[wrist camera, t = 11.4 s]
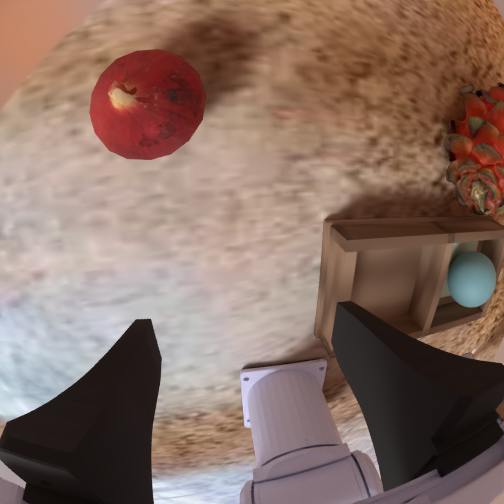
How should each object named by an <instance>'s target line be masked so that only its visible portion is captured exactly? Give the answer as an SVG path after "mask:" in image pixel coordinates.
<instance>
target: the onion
mask: <svg viewBox="0 0 504 504" xmlns="http://www.w3.org/2000/svg"><path fill="white" fill-rule="evenodd" d="M205 100H206V94H205V91H204V88H203V85H202V82H201V79H200V76H199V74H198V73H197V71H196V70H195V69H193V68H192V67H191V66H190V65H189V64H188V63H187V62H186V61H185V60H184V59H183V58H182V57H180V56H178V55H175V54H172V53H169V52H167V51H164V50H159V49H155V50H142V51H135V52H133V53H130V54H128V55H125V56H123V57H120V58H118V59H116V60H115V61H114V62H113V63H112V64H111V65H110V66H109V67H108V68H107V69H106V70H105V71H104V72H103V73H102V74H101V76H100V78H99V80H98V82H97V84H96V86H95V88H94V90H93V92H92V96H91V104H90V117H91V121H92V124H93V128H94V132H95V134H96V135H97V136H98V138H99V139H100V140H101V141H102V142H103V144H104V145H105V146H106V147H107V149H108V150H109V151H111V152H113V153H116V154H118V155H120V156H122V157H124V158H127V159H142V160H152V159H155V158H159V157H163V156H166V155H170V154H172V153H173V152H174V151H176V150H177V149H178V148H180V147H181V146H182V145H184V144H185V143H186V142H188V141H189V140H190V138H191V137H192V135H193V134H194V132H195V131H196V129H197V128H198V126H199V125H200V123H201V122H202V120H203V113H204V107H205Z"/></svg>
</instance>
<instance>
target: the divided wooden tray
mask: <svg viewBox="0 0 504 504" xmlns="http://www.w3.org/2000/svg"><path fill="white" fill-rule="evenodd" d="M493 219H494V218H493V217H491V216H474V217H473V216H442V217H399V218H368V219H343V220H324V225H323V242H322V256H321V269H320V281H319V292H318V302H317V312H316V321H315V330H314V335H315V337H316V338H321V340H322V342H323V344H324V346H325V348H326V350H327V352H328V354H329V356H330V358H333V357H336V356H335V353H334V350H333V347H332V344H331V338H332V332H333V325H334V319H335V312H336V305H337V302H344V301H352V302H354V303H356V304H358V305H359V306H361V307H363V308H364V309H366V310H367V311H369V312H370V313H372V314H373V315H375V316H377V317H378V318H380V319H381V320H383V321H385V322H386V323H388V324H389V325H391V326H393V327H394V328H396V329H398V330H400V331H401V332H403V333H405V334H407V335H409V336H411V337H413V338H415V339H416V338H420V337H423V336H427V335H430V334H434V333H437V332H440V331H444V330H447V329H450V328H453V327H456V326H459V325H462V324H465V323H468V322H471V321H474V320H477V319H479V318H482V317H485V314H486V312H487V309H488V306H489V304H490V301H491V298H492V295H493V293H492V295H491V297H490V298H489V299H488V300H487V301H486V302H485V303H484V304H482V305H480V306H477V307H465V306H462V305H460V304H459V303H457V302H456V301H455V300H454V299H453V297H452V296H451V294H450V291H449V288H448V282H447V279H448V272H449V269H450V267H451V265H452V263H453V262H454V260H455V259H456V258H457V257H458V256H460V255H461V254H463V253H465V252H469V251H476V252H480V253H482V254H484V255H486V256H487V257H488V258H489V259H490V260H491V262H492V264H493V266H494V268H495V272H496V283H497V280H498V277H499V274H500V270H501V267H502V264H503V260H504V226H503V225H501V224H499V223H497V222H495V221H493ZM495 286H496V285H495ZM493 292H494V291H493Z"/></svg>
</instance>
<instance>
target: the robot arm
mask: <svg viewBox="0 0 504 504" xmlns="http://www.w3.org/2000/svg"><path fill="white" fill-rule="evenodd" d="M331 344H332V347H333V350H334V353H335V356H336V359H337V361H338V364H339V366H340V368H341V370H342V372H343V374H344V376H345V378H346V380H347V381H348V383H349V385H350V387H351V389H352V391H353V393H354V395H355V397H356V399H357V401H358V403H359V405H360V407H361V410H362V412H363V415H364V418H365V421H366V423H367V426H368V429H369V432H370V436H371V439H372V442H373V446H374V449H375V453H376V457H377V461H378V465H379V470H380V475H381V480H382V483H381V480H380V477H379V475H378V472H377V470H376V468H375V466H374V464H373V462H372V460H371V459H370V457H369V456H368V455H367V454H365V453H362V452H361V451H359V450H356V451H354V452H351V453H350V450H349V448H348V445H347V443H344V444H343V443H342V440H341V438H340V435H339V433H338V430H337V427H336V425H335V422H334V420H333V417H332V415H331V412H330V410H329V407H328V404H327V402H326V399H325V397H324V394H323V392H322V388H323V383H324V378H325V373H326V368H327V361H326V359H318V360H312V361H305V362H299V363H292V364H285V365H277V366H269V367H261V368H251V369H244V370H242V371H241V372H240V379H241V391H242V402H243V414H244V425H245V427H247V428H250V427H251V431H252V437H253V443H254V449H255V455H256V461H257V467H258V468H255V469H253V470H252V471H253V478H254V480H250V481H247V482H246V483H245V485H244V487H243V488H242V490H241V493H240V504H490V503H492V501H494V500H495V499H496V498H497V497H499V496H500V495H501V494H502V493H503V492H504V421H503V422H502V423H501V424H500V425H499V424H498V423H497V421H496V420H497V419H498V418H499V415H498V413H497V412H496V411H495V410H496V409H497V408H498V406H499V405H500V404H501V402H502V401H503V399H504V365H503V364H501V363H495V362H487V361H480V360H475V359H471V358H466V357H462V356H458V355H455V354H452V353H449V352H446V351H443V350H440V349H437V348H435V347H432V346H430V345H428V344H425V343H423V342H421V341H419V340H417V339H415V338H413V337H411V336H409V335H407V334H405V333H403V332H401V331H400V330H398V329H396V328H394V327H393V326H391V325H389V324H388V323H386V322H385V321H383V320H381V319H380V318H378V317H377V316H375V315H373V314H372V313H370V312H369V311H367V310H366V309H364V308H363V307H361V306H359V305H358V304H356V303H354V302H352V301H344V302H337V305H336V312H335V319H334V325H333V332H332V338H331ZM161 361H162V358H161V354H160V351H159V347H158V344H157V340H156V337H155V333H154V329H153V325H152V321H151V319H136V320H135V321H134V322H133V323H132V325H131V326H130V327H129V328H128V329H127V330H126V331H125V333H124V334H123V335H122V336H121V337H120V339H119V340H118V341H117V342H116V343H115V344H114V345H113V347H112V348H111V349H110V350H109V351H108V352H107V353H106V354H105V355H104V356H103V357H102V358H101V359H100V360H99V361H98V362H97V363H96V364H95V366H94V367H93V368H92V369H90V370H89V371H88V372H87V373H86V374H85V375H84V376H83V377H82V378H80V379H79V380H78V381H77V382H76V383H74V384H73V385H72V386H71V387H69V388H68V389H66V390H65V391H64V392H62V393H61V394H59V395H58V396H57V397H55V398H54V399H52V400H50V401H49V402H47V403H46V404H44V405H42V406H40V407H39V408H37V409H35V410H33V411H31V412H29V413H27V414H25V415H22V416H20V417H18V418H16V419H13V420H11V421H8V422H7V423H6V426H5V428H4V430H3V433H2V435H1V438H0V460H1V461H2V462H3V463H4V464H5V465H6V466H8V468H10V469H11V470H12V471H13V472H14V473H15V474H16V475H18V476H19V477H20V478H21V479H23V480H24V481H25V482H26V487H25V489H24V488H22V487H20V486H19V485H17V484H14V483H12V482H10V481H7V480H5V479H3V478H1V477H0V504H154V501H153V489H152V470H151V442H152V428H153V421H154V415H155V409H156V403H157V398H158V392H159V386H160V380H161ZM320 367H321V368H320ZM246 377H248V378H246ZM382 485H383V486H382Z"/></svg>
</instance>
